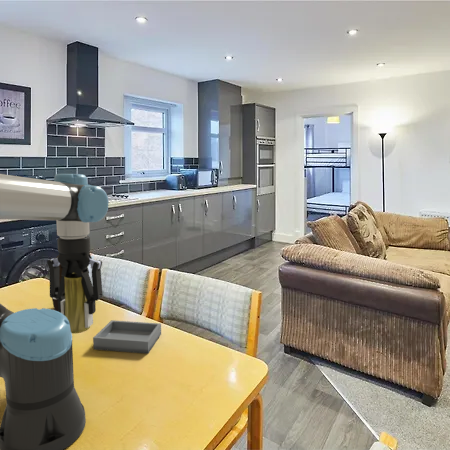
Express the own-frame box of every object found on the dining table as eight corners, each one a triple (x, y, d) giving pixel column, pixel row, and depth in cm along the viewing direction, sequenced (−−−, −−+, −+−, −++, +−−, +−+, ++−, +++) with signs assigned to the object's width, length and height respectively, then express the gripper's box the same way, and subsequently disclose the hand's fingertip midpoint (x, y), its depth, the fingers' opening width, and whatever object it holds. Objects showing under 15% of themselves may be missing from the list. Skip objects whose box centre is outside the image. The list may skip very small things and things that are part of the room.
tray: (148, 353, 102) (148, 341, 102) (93, 349, 104) (93, 337, 104) (161, 334, 114) (161, 323, 114) (111, 330, 116) (111, 320, 116)
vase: (59, 331, 94) (56, 277, 92) (75, 322, 99) (73, 271, 97) (79, 335, 92) (77, 279, 90) (95, 325, 98) (93, 273, 96)
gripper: (115, 235, 95) (118, 321, 98) (47, 232, 97) (52, 316, 100) (102, 240, 87) (105, 333, 91) (29, 237, 90) (34, 328, 93)
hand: (77, 324), depth 95 cm, fingers closed on vase, 6 cm apart
